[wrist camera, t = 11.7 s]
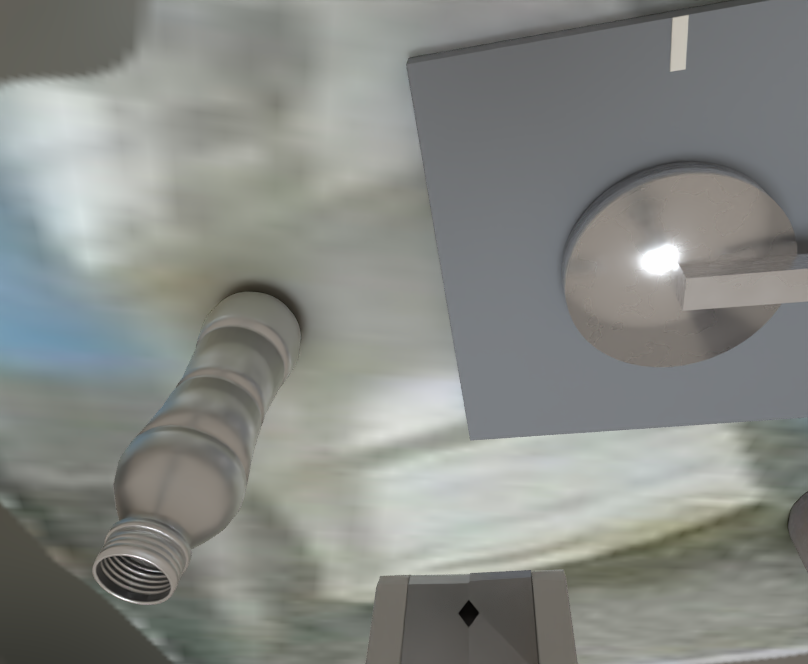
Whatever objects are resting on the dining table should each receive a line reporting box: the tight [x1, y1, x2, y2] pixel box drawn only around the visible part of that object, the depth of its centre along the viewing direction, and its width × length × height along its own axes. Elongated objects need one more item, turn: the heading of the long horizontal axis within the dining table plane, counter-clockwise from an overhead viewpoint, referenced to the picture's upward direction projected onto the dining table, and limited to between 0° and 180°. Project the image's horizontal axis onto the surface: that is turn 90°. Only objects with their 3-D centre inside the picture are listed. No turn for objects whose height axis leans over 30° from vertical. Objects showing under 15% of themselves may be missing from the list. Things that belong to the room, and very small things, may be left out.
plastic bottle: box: [92, 292, 301, 605], centre depth 35 cm, size 6×7×20 cm
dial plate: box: [406, 0, 808, 440], centre depth 37 cm, size 26×26×2 cm
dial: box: [561, 161, 808, 367], centre depth 33 cm, size 18×12×7 cm
